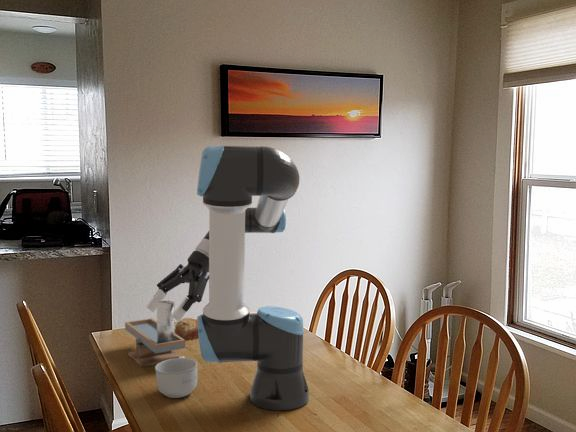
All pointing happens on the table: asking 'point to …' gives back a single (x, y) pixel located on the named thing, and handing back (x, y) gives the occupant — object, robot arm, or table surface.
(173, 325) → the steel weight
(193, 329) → the bread roll
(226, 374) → the table surface
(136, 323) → the rectangular tray
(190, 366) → the teacup
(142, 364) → the fulcrum
